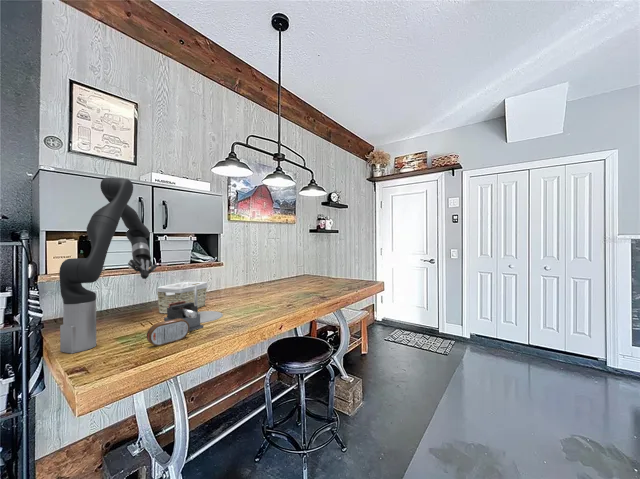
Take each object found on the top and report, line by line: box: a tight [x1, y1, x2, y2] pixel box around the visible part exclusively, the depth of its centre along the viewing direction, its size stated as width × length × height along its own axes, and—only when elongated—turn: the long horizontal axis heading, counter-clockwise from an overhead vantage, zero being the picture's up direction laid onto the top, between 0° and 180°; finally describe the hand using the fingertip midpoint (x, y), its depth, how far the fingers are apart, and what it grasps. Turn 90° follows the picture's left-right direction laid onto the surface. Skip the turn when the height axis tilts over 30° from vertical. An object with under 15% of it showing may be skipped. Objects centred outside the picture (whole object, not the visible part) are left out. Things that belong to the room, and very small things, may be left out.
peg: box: [169, 301, 197, 319], centre depth 122 cm, size 15×7×7 cm, turn 52°
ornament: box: [195, 285, 224, 324], centre depth 144 cm, size 22×13×17 cm, turn 22°
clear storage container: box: [156, 280, 208, 314], centre depth 160 cm, size 24×16×15 cm
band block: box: [163, 302, 204, 332], centre depth 123 cm, size 10×14×11 cm
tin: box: [146, 318, 190, 347], centre depth 108 cm, size 15×3×8 cm, turn 141°
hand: (145, 277), depth 129 cm, fingers closed
